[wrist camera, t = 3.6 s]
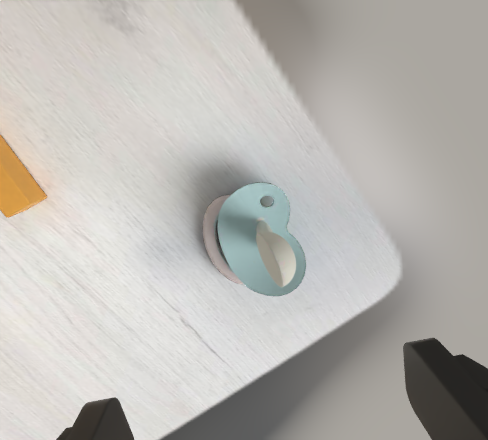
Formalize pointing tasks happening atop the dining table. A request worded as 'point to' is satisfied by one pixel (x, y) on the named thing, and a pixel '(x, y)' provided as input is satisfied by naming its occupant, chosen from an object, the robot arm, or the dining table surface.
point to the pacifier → (254, 240)
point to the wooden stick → (16, 184)
